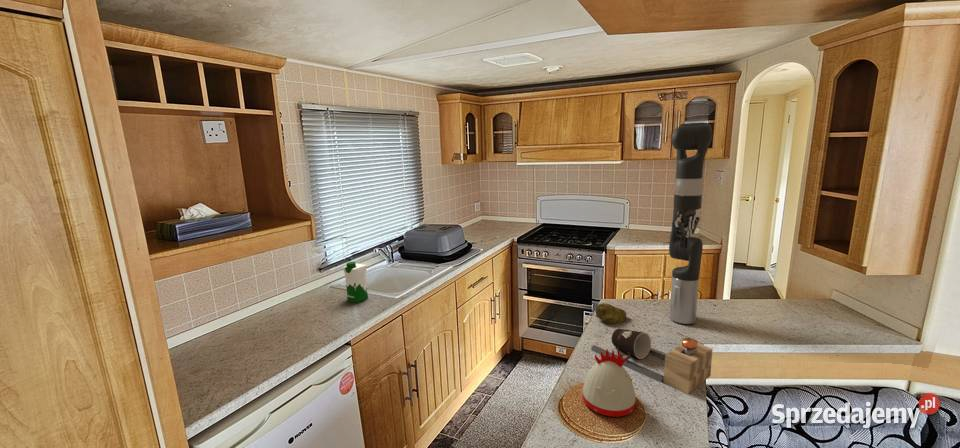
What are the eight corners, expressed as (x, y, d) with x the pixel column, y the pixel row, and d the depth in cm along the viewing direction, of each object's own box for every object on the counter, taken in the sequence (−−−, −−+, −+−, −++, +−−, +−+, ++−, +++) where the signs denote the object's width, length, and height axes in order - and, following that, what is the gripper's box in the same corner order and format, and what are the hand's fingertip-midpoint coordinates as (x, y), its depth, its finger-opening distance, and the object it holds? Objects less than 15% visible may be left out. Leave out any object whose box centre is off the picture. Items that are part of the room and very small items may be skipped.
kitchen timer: (635, 421, 100) (637, 367, 97) (579, 410, 105) (580, 358, 102) (635, 390, 113) (637, 341, 110) (585, 381, 118) (586, 334, 115)
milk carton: (344, 304, 185) (340, 263, 181) (359, 297, 193) (355, 258, 189) (357, 307, 180) (353, 265, 177) (372, 300, 188) (368, 260, 184)
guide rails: (616, 337, 144) (616, 333, 144) (685, 365, 124) (685, 361, 124) (591, 350, 135) (591, 346, 135) (661, 382, 116) (661, 377, 116)
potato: (630, 326, 153) (631, 307, 151) (597, 327, 153) (597, 307, 152) (624, 318, 161) (624, 299, 159) (592, 318, 161) (592, 299, 160)
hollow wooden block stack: (686, 366, 124) (688, 340, 122) (710, 376, 118) (712, 348, 117) (663, 382, 116) (665, 354, 114) (687, 394, 110) (689, 364, 108)
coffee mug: (624, 322, 139) (649, 329, 131) (627, 345, 140) (652, 354, 131) (602, 332, 133) (626, 340, 125) (604, 356, 134) (629, 365, 126)
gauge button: (684, 365, 119) (686, 336, 117) (697, 371, 116) (700, 341, 114) (677, 370, 117) (679, 340, 115) (691, 376, 114) (693, 345, 112)
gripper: (686, 190, 126) (682, 243, 129) (664, 194, 118) (661, 250, 122) (710, 192, 120) (706, 247, 123) (690, 196, 113) (686, 254, 116)
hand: (684, 248), depth 123 cm, fingers closed
